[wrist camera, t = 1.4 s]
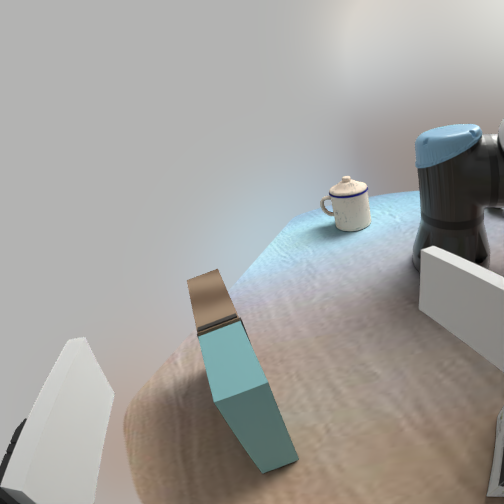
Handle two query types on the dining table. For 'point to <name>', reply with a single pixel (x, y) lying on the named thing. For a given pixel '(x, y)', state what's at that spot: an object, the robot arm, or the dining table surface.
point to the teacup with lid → (349, 205)
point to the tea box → (498, 461)
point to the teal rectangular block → (246, 397)
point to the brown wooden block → (211, 303)
